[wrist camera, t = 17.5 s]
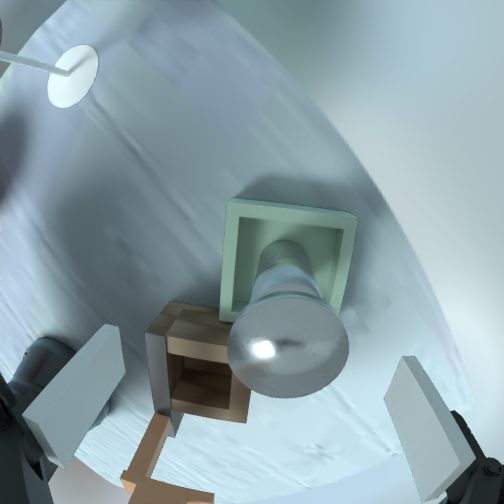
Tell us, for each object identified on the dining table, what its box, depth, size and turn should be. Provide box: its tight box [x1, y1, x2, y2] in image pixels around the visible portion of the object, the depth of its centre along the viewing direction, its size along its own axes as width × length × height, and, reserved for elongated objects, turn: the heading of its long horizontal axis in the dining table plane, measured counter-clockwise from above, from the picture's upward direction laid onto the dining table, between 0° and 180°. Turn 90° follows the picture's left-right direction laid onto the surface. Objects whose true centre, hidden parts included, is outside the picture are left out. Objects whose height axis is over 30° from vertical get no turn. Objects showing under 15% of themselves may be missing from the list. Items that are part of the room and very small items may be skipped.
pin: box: [227, 240, 349, 398], centre depth 19 cm, size 6×6×13 cm
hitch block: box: [145, 301, 251, 438], centre depth 27 cm, size 9×14×6 cm, turn 174°
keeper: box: [120, 413, 214, 504], centre depth 18 cm, size 7×3×13 cm, turn 84°
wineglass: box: [0, 19, 98, 108], centre depth 13 cm, size 8×9×20 cm
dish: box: [219, 198, 358, 322], centre depth 25 cm, size 10×10×3 cm
